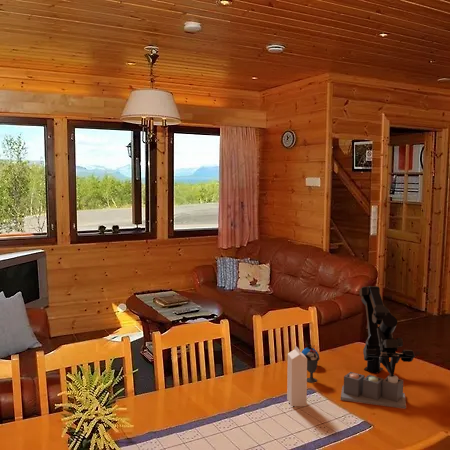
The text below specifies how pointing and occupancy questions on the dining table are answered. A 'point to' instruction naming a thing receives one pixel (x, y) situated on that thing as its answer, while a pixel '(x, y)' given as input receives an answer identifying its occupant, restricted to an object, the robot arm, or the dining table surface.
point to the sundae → (312, 364)
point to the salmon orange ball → (354, 375)
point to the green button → (373, 379)
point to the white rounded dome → (393, 379)
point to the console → (373, 391)
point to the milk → (297, 378)
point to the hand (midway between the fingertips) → (392, 376)
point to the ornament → (308, 350)
